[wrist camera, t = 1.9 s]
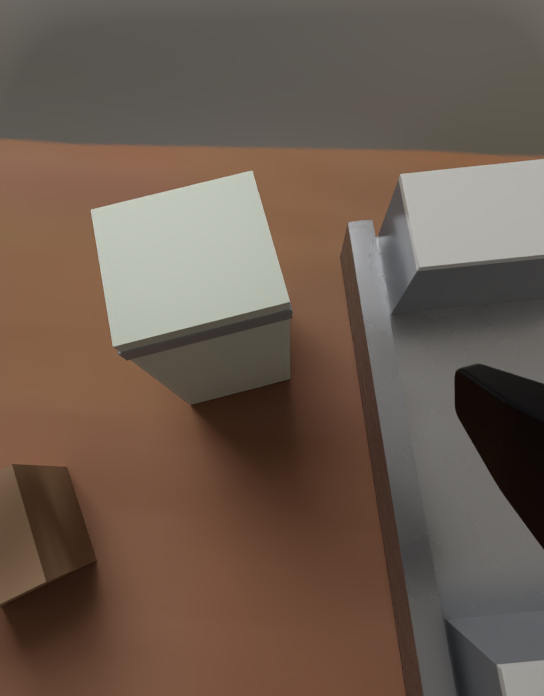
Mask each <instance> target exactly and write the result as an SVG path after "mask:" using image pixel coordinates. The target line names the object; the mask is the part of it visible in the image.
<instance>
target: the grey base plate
mask: <svg viewBox="0 0 544 696" xmlns="http://www.w3.org/2000/svg"><path fill="white" fill-rule="evenodd" d="M340 259H341V266H342V272H343V279H344V286H345V292H346V299H347V305H348V312H349V319H350V325H351V332H352V339H353V345H354V352H355V358H356V365H357V372H358V378H359V385H360V392H361V398H362V405H363V412H364V418H365V425H366V431H367V438H368V445H369V451H370V458H371V465H372V471H373V478H374V484H375V491H376V498H377V504H378V511H379V518H380V524H381V531H382V537H383V544H384V551H385V557H386V564H387V571H388V577H389V584H390V591H391V597H392V604H393V610H394V617H395V624H396V630H397V637H398V644H399V650H400V657H401V663H402V670H403V677H404V683H405V690H406V696H460V694H459V688H458V683H457V677H456V672H455V666H454V661H453V655H452V649H451V644H450V638H449V633H448V627H447V621H446V620H448V619H459V618H470V617H480V616H491V615H501V614H512V613H523V612H533V611H544V550H543V548H542V547H541V545H540V544H539V543H538V541H537V540H536V539H535V537H534V536H533V535H532V533H531V532H530V530H529V529H528V528H527V526H526V525H525V524H524V522H523V521H522V520H521V518H520V517H519V515H518V514H517V513H516V511H515V510H514V509H513V507H512V506H511V505H510V503H509V502H508V500H507V499H506V498H505V496H504V495H503V493H502V492H501V490H500V489H499V487H498V486H497V484H496V482H495V481H494V479H493V478H492V476H491V474H490V472H489V471H488V469H487V467H486V465H485V464H484V462H483V460H482V458H481V457H480V455H479V453H478V452H477V450H476V448H475V446H474V445H473V443H472V441H471V439H470V438H469V436H468V434H467V433H466V431H465V429H464V427H463V426H462V424H461V422H460V420H459V419H458V416H457V414H456V411H455V396H454V376H455V372H456V370H457V369H458V368H461V367H465V366H469V365H473V364H477V363H479V364H484V365H487V366H490V367H493V368H496V369H499V370H503V371H506V372H509V373H512V374H515V375H518V376H521V377H525V378H528V379H531V380H534V381H537V382H540V383H544V298H539V299H530V300H520V301H510V302H500V303H490V304H480V305H470V306H461V307H451V308H441V309H431V310H421V311H411V312H401V313H392V314H391V309H390V303H389V298H388V292H387V286H386V281H385V275H384V270H383V264H382V259H381V253H380V247H379V242H378V237H375V232H374V227H373V221H372V220H364V221H355V222H348V224H347V228H346V233H345V237H344V242H343V246H342V251H341V255H340Z"/></svg>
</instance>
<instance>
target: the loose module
mask: <svg viewBox="0 0 544 696" xmlns="http://www.w3.org/2000/svg"><path fill="white" fill-rule="evenodd" d="M91 214H92V220H93V226H94V232H95V238H96V244H97V251H98V257H99V263H100V269H101V275H102V282H103V288H104V294H105V300H106V306H107V313H108V319H109V325H110V331H111V337H112V344H113V347H114V348H115V349H117V350H118V353H119V355H120V356H121V357H123V358H124V359H126V360H131V361H133V362H134V363H135V364H137V365H138V366H139V367H141V368H142V369H143V370H145V371H146V372H147V373H149V374H150V375H151V376H153V377H154V378H155V379H157V380H158V381H159V382H160V383H162V384H163V385H164V386H166V387H167V388H168V389H170V390H171V391H172V392H174V393H175V394H176V395H178V396H179V397H180V398H182V399H183V400H184V401H186V402H187V403H188V404H190V405H192V404H196V403H200V402H204V401H208V400H212V399H215V398H219V397H223V396H227V395H231V394H235V393H239V392H242V391H246V390H250V389H254V388H258V387H262V386H266V385H269V384H273V383H277V382H281V381H285V380H289V379H290V319H291V318H292V307H291V304H290V300H289V297H288V293H287V290H286V286H285V283H284V279H283V276H282V272H281V269H280V265H279V262H278V258H277V255H276V252H275V248H274V245H273V241H272V238H271V234H270V231H269V227H268V224H267V220H266V217H265V213H264V210H263V206H262V203H261V199H260V196H259V193H258V189H257V186H256V182H255V179H254V175H253V172H252V171H248V172H244V173H240V174H236V175H232V176H227V177H223V178H219V179H215V180H211V181H207V182H203V183H199V184H195V185H190V186H186V187H182V188H178V189H174V190H170V191H166V192H162V193H158V194H153V195H149V196H145V197H141V198H137V199H133V200H129V201H125V202H120V203H116V204H112V205H108V206H104V207H100V208H96V209H92V210H91Z"/></svg>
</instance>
